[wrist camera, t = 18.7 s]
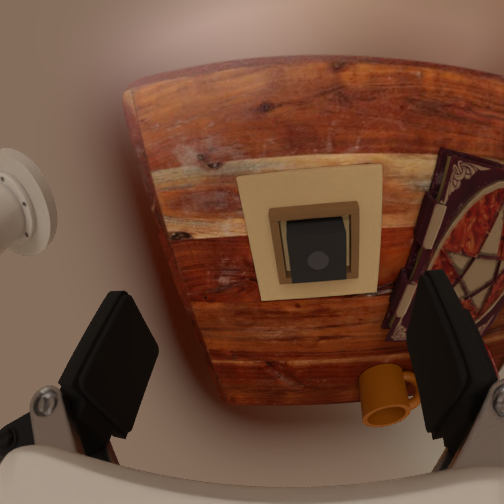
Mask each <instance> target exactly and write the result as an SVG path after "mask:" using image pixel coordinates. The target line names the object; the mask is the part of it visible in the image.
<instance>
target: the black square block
mask: <svg viewBox="0 0 504 504" xmlns="http://www.w3.org/2000/svg"><path fill="white" fill-rule="evenodd" d="M286 240H287V247H288V255H289V263H290V271H291V279H292V284H295V283H309V282H322V281H334V280H346V277H347V240H346V229H345V226H344V222H343V218H342V216H339V217H327V218H315V219H303V220H292V221H287V228H286Z"/></svg>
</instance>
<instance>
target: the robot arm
mask: <svg viewBox="0 0 504 504" xmlns="http://www.w3.org/2000/svg"><path fill="white" fill-rule="evenodd" d="M35 227H36V218H35V212H34V208H33V205H32V202H31V199H30V197H29V195H28V193H27V192H26V190H25V189H24V187H23V186H22V184H21V183H20V182H19V181H18V180H17V179H16V178H15V177H13V176H12V175H10V174H9V173H7V172H4V171H0V255H1V254H2V253H3V252H4V251H5V250H6V249H7V248H8V247H9V246H10V245H11V244H17V245H22V244H24V243H26V242H27V241H29V239H30V238H31V237H32V236H33V234H34V232H35ZM406 342H407V347H408V351H409V354H410V358H411V362H412V366H413V370H414V375H415V379H416V383H417V388H418V392H419V397H420V401H421V406H422V411H423V416H424V421H425V427H426V430H427V432H428V433H430V432H431V433H432V438H433V440H434V439H439V438H443V440H444V446H445V447H446V448H445V450H444V452H443V454H442V455H441V457H440V459H439V460H438V462H437V464H436V465H435V467H434V468H433V470H432V472H431V473H426V474H421V475H416V476H410V477H404V478H399V479H392V480H385V481H377V482H369V483H361V484H351V485H339V486H323V487H258V486H257V487H256V486H241V485H228V484H219V483H210V482H202V481H195V480H188V479H182V478H176V477H170V476H165V475H160V474H155V473H150V472H146V471H141V470H136V469H133V468H129V467H125V466H121V465H120V464H119V462H118V460H117V457H116V455H115V452H114V450H113V447H112V445H111V442H110V438H111V435H112V436H114V437H118V438H123V439H126V437H127V434H128V432H130V431H131V430H132V428H133V425H134V422H135V419H136V416H137V413H138V410H139V407H140V404H141V401H142V399H143V396H144V393H145V390H146V387H147V384H148V381H149V378H150V376H151V373H152V370H153V367H154V365H155V362H156V359H157V356H158V353H159V348H158V345H157V343H156V341H155V339H154V337H153V336H152V334H151V332H150V330H149V328H148V327H147V325H146V323H145V321H144V319H143V317H142V315H141V313H140V311H139V309H138V308H137V306H136V304H135V302H134V300H133V298H132V296H130V295H128V293H127V292H125V291H111V292H109V293H108V294H107V296H106V297H105V299H104V300H103V302H102V304H101V305H100V307H99V309H98V311H97V312H96V314H95V316H94V317H93V319H92V321H91V322H90V324H89V326H88V328H87V330H86V331H85V333H84V335H83V337H82V338H81V340H80V342H79V344H78V346H77V347H76V349H75V351H74V353H73V355H72V357H71V358H70V360H69V362H68V364H67V366H66V368H65V370H64V372H63V374H62V376H61V378H60V380H59V382H58V383H59V384H60V385H61V388H60V390H59V389H58V388H57V387H55V386H45V387H43V388H41V389H40V390H39V391H37V392H36V393H35V394H34V396H33V398H32V400H31V403H30V412H29V413H27V414H25V415H23V416H22V417H20V418H18V419H16V420H15V421H13V422H11V423H9V424H8V425H6V426H4V427H3V428H2V429H1V430H0V504H504V379H501V380H498V377H497V374H496V371H495V369H494V366H493V364H492V361H491V359H490V356H489V354H488V351H487V349H486V347H485V344H484V342H483V339H482V337H481V335H480V333H479V330H478V328H477V326H476V324H475V322H474V320H473V317H472V315H471V313H470V312H469V310H468V309H466V308H463V306H462V304H461V302H460V300H459V298H458V296H457V294H456V292H455V290H454V288H453V286H452V284H451V282H450V280H449V278H448V276H447V275H446V273H445V271H444V270H443V269H436V270H427V271H425V273H424V276H420V277H419V280H418V285H417V290H416V295H415V300H414V304H413V309H412V313H411V318H410V322H409V326H408V330H407V334H406Z"/></svg>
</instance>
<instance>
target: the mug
mask: <svg viewBox="0 0 504 504" xmlns="http://www.w3.org/2000/svg"><path fill="white" fill-rule="evenodd" d="M358 380H359V391H360V400H361V410H362V420H363V423H364V424H365V425H367V426H370V427H383V426H389V425H392V424H395V423H397V422H399V421H402V420H403V419H405V418H406V417H407V416H408V415H409V414H410V411H411V410H412V409H414V408H416V407H417V406H418V405H419V404H420V403H421V401H420V397H419V392H418V388H417V383H416V379H415V375H414V373H413V372H410V371H402V369H401V367H399V366H398V365H395V364H380V365H376V366H373V367H371V368H369V369H367V370H366V371H364V372H363V373H362V374H361V375H360V377H359V379H358ZM405 381H408V382H411V383H412V384H413V386H414V387H415V394H414V396H413V397H412V398H411V399H408V394H407V389H406V384H405Z"/></svg>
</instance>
